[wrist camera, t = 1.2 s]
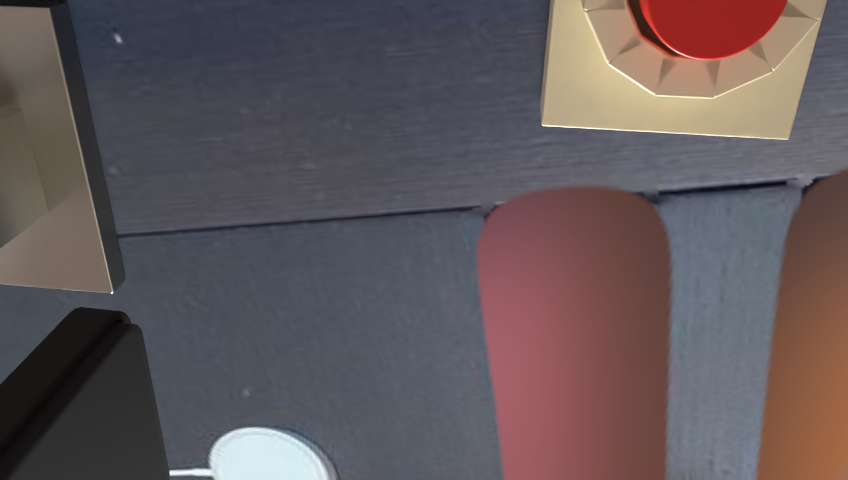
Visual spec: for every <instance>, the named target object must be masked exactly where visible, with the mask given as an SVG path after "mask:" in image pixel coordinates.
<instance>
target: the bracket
mask: <svg viewBox="0 0 848 480" xmlns="http://www.w3.org/2000/svg"><path fill="white" fill-rule="evenodd" d="M125 279H126V278H125V274H124V269H123V264H122V259H121V255H120V250H119V245H118V241H117V236H116V231H115V227H114V222H113V217H112V212H111V208H110V203H109V198H108V194H107V189H106V184H105V180H104V175H103V170H102V165H101V161H100V156H99V151H98V147H97V142H96V137H95V133H94V128H93V123H92V118H91V114H90V109H89V104H88V100H87V95H86V90H85V85H84V81H83V76H82V71H81V67H80V62H79V57H78V53H77V48H76V43H75V38H74V34H73V29H72V24H71V20H70V15H69V10H68V6H67V3H65V2H53V1H30V0H0V284H6V285H18V286H30V287H42V288H54V289H66V290H78V291H90V292H102V293H114V292H115V291H116V290H117V289H118V288H119V286H120V285H121V284H122V283H123V282H124V281H125Z"/></svg>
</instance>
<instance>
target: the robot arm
mask: <svg viewBox="0 0 848 480" xmlns="http://www.w3.org/2000/svg"><path fill="white" fill-rule="evenodd" d="M169 476H170V475H169V467H168V462H167V457H166V451H165V446H164V441H163V436H162V431H161V426H160V421H159V416H158V410H157V405H156V400H155V395H154V390H153V385H152V380H151V374H150V369H149V364H148V359H147V354H146V349H145V344H144V339H143V334H142V331H141V328H140V327H139V326H138V325H135V324H131V321H130V318H129V317H128V316H127V314H126V313H124V312H121V311H112V310H103V309H94V308H84V307H80V308H76V309H74V310H73V311H72V312H70V313H69V314H68V315H67V316H66V317H65V318H64V319H63V320H62V321H61V322H60V323H59V324H58V325H57V327H56V328H55V329H54V330H53V331H52V332H51V333H50V334H49V335H48V336H47V337H46V338H45V339H44V340H43V341H42V342H41V343H40V344H39V345H38V346H37V347H36V348H35V349H34V350H33V351H32V352H31V353H30V354H29V355H28V357H27V358H26V359H25V360H24V361H23V362H22V363H21V364H20V365H19V366H18V367H17V368H16V369H15V370H14V371H13V372H12V373H11V374H10V375H9V376H8V377H7V378H6V379H5V380H4V381H3V382H2V383H1V384H0V480H169Z"/></svg>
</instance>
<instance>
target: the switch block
mask: <svg viewBox="0 0 848 480" xmlns="http://www.w3.org/2000/svg"><path fill="white" fill-rule="evenodd" d="M826 2H827V0H788V1H787V3H786V6H785V8H784V10H783V12H782V14H781V16H780V17H779V19H778V21H777V22H776V23H775V25H774V26H773V27H772V28H771V30H770V31H769V32H768V33H767V34H766V35H765V36H764V37H763V38H761V39H760V40H759V41H758V42H757V43H755V44H754V45H752V46H751V47H749V48H748V49H746V50H744V51H742V52H740V53H737V54H735V55H732V56H729V57H725V58H721V59H714V60H700V59H693V58H689V57H686V56H683V55H681V54H678V53H676V52H675V51H673V50H671V49H670V48H669V47H668V46H666V45H665V44H664V43H663V42H662V41H661V40H660V39H659V37H658V36H657V35H656V33H655V32H654V31H653V29H652V28H651V27H650V25H649V24H648V23H647V21H646V20H645V18H644V16H643V14H642V11H641V8H640V5H639V0H550V11H549V21H548V31H547V41H546V52H545V62H544V72H543V82H542V93H541V103H540V109H541V123H542V126H554V127H572V128H589V129H607V130H625V131H643V132H661V133H678V134H696V135H714V136H732V137H750V138H767V139H785V140H787V139H789V137H790V133H791V129H792V126H793V122H794V118H795V115H796V111H797V107H798V104H799V100H800V96H801V93H802V89H803V86H804V82H805V78H806V75H807V71H808V67H809V64H810V60H811V56H812V53H813V49H814V46H815V42H816V38H817V35H818V31H819V27H820V24H821V20H822V16H823V13H824V9H825V5H826Z"/></svg>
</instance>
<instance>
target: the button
mask: <svg viewBox="0 0 848 480" xmlns="http://www.w3.org/2000/svg"><path fill="white" fill-rule="evenodd" d="M787 1H788V0H639V5H640V8H641V11H642V14H643V16H644V18H645V20H646V21H647V23H648V24H649V25H650V27H651V28H652V29H653V31H654V32H655V33H656V35H657V36H658V37H659V39H660V40H661V41H662V42H663V43H664V44H665V45H666V46H668V47H669V48H670V49H671V50H673V51H675V52H676V53H678V54H681V55H683V56H686V57H689V58H693V59H700V60H714V59H721V58H725V57H729V56H732V55H735V54H737V53H740V52H742V51H744V50H746V49H748V48H749V47H751V46H752V45H754V44H755V43H757V42H758V41H759V40H760V39H761V38H763V37H764V36H765V35H766V34H767V33H768V32H769V31H770V30H771V28H772V27H773V26H774V25H775V23H776V22H777V21H778V19H779V17H780V16H781V14H782V12H783V10H784V8H785V6H786V3H787Z"/></svg>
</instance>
